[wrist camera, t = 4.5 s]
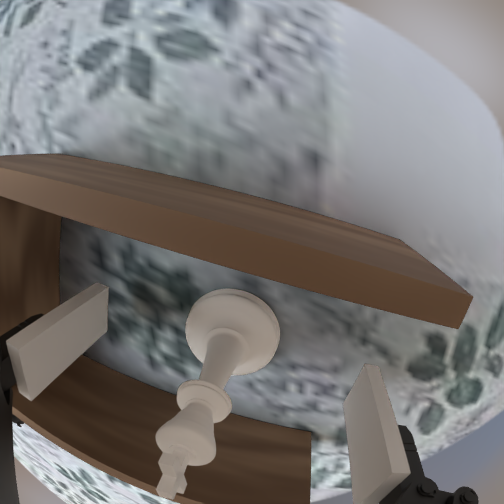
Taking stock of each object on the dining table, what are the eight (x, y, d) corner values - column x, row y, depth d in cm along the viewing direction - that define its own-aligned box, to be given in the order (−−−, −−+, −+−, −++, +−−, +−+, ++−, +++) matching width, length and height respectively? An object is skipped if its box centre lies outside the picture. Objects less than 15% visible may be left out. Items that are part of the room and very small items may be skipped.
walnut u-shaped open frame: (57, 153, 15) (-38, 158, 8) (399, 239, 13) (473, 297, 7) (54, 349, 19) (-5, 399, 12) (305, 440, 17) (301, 529, 11)
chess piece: (193, 364, 17) (117, 506, 7) (183, 285, 15) (62, 417, 6) (279, 371, 16) (254, 537, 6) (280, 289, 15) (250, 464, 5)
